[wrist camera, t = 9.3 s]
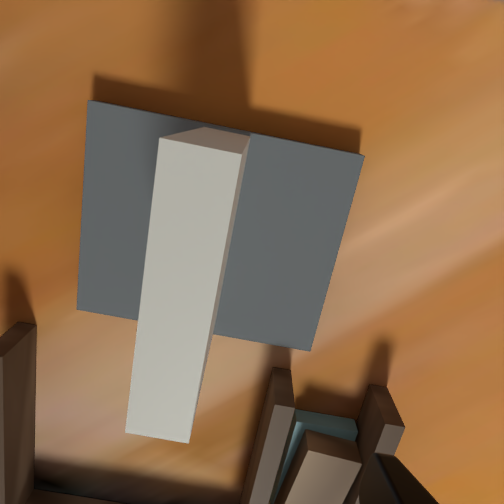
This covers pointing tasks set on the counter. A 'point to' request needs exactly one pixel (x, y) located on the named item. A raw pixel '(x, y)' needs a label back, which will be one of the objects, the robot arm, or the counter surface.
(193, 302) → the board
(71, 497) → the rack
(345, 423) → the offcut lower
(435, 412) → the counter surface
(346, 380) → the counter surface
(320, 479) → the offcut upper
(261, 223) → the mat
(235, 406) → the counter surface
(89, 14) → the counter surface
